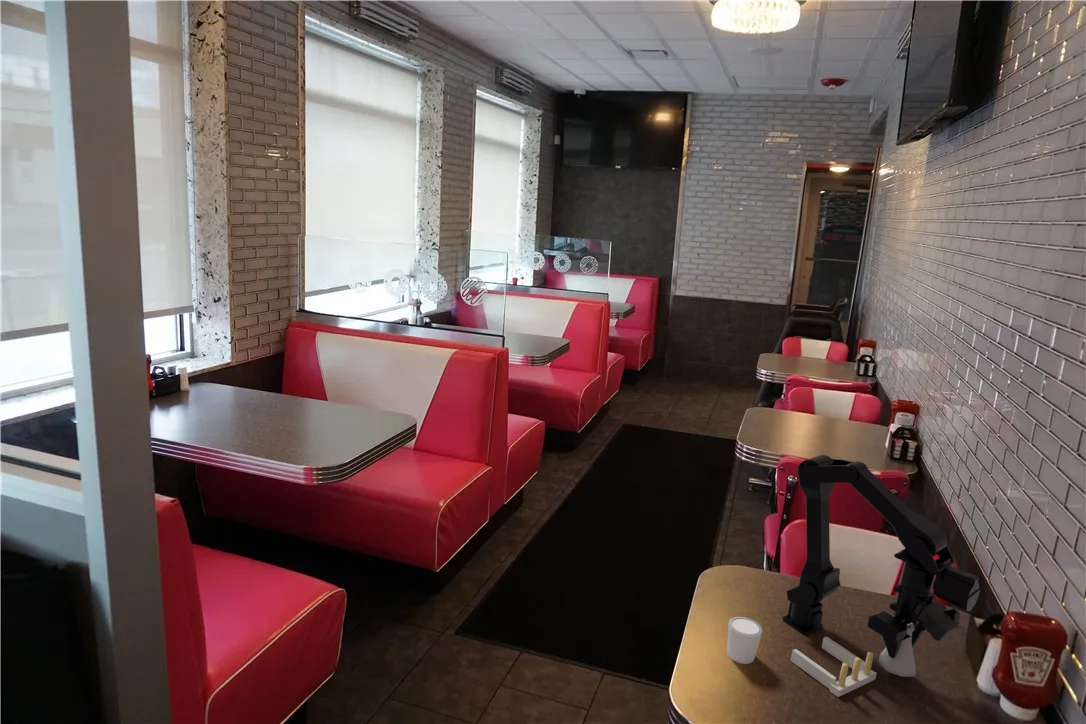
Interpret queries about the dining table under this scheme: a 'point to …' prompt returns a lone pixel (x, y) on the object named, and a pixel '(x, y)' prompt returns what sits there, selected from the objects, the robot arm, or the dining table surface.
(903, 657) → the flask
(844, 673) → the wall peg rack
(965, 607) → the robot arm
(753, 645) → the white cup
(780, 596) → the dining table surface
